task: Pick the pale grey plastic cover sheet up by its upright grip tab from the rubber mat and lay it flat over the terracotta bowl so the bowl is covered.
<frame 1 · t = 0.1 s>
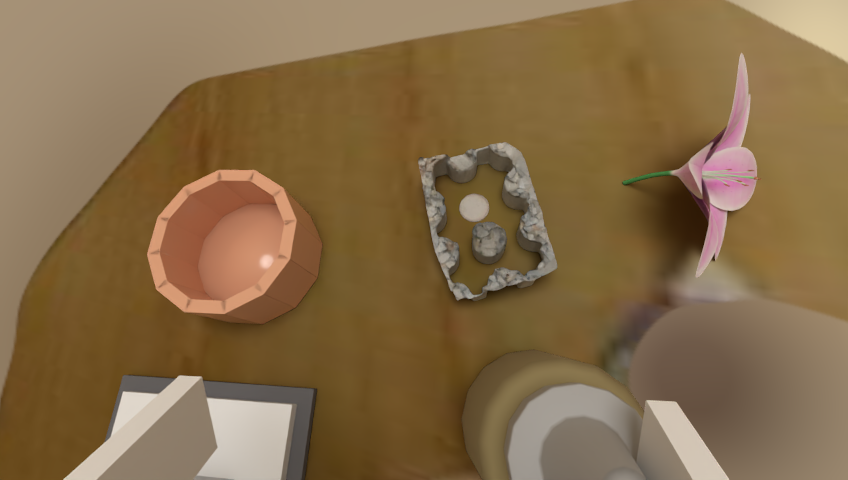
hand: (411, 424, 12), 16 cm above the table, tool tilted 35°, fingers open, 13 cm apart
squeeze bottle: (526, 418, 26), on the table, touching gripper
lily: (680, 207, 30), on the table
bowl: (258, 258, 31), on the table
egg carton: (483, 229, 31), on the table
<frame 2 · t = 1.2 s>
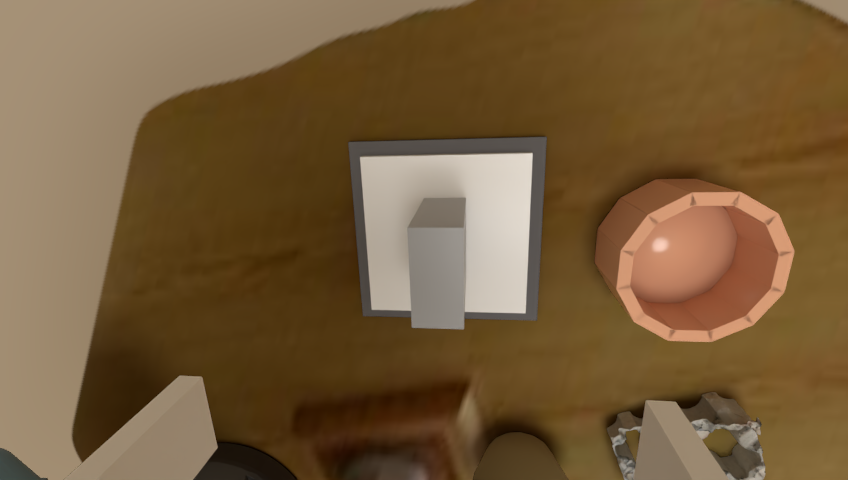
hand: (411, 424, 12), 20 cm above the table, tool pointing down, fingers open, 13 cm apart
squeeze bottle: (518, 455, 37), on the table
bowl: (665, 245, 30), on the table
rubber mat: (446, 232, 32), on the table
cover sheet: (446, 234, 31), point 1 cm above the table, touching rubber mat
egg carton: (672, 431, 35), on the table
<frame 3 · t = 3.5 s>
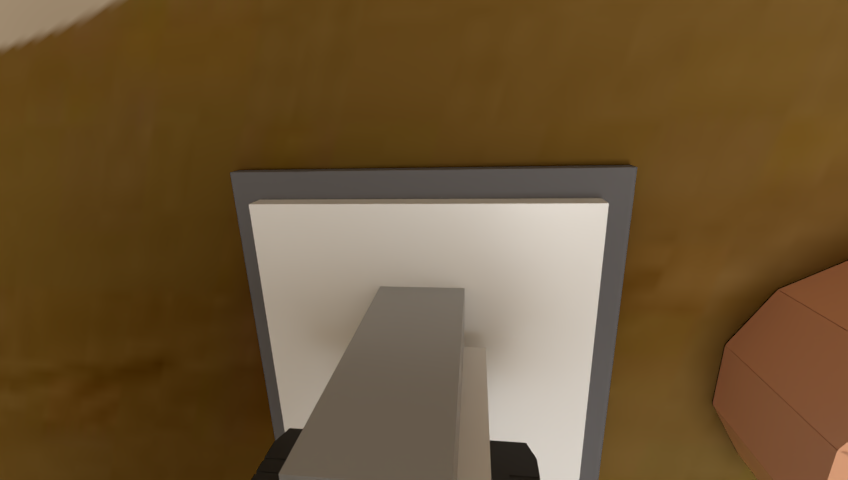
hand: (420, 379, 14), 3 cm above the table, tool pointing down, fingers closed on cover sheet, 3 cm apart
rubber mat: (428, 340, 17), on the table
cover sheet: (426, 349, 16), point 1 cm above the table, touching gripper, rubber mat
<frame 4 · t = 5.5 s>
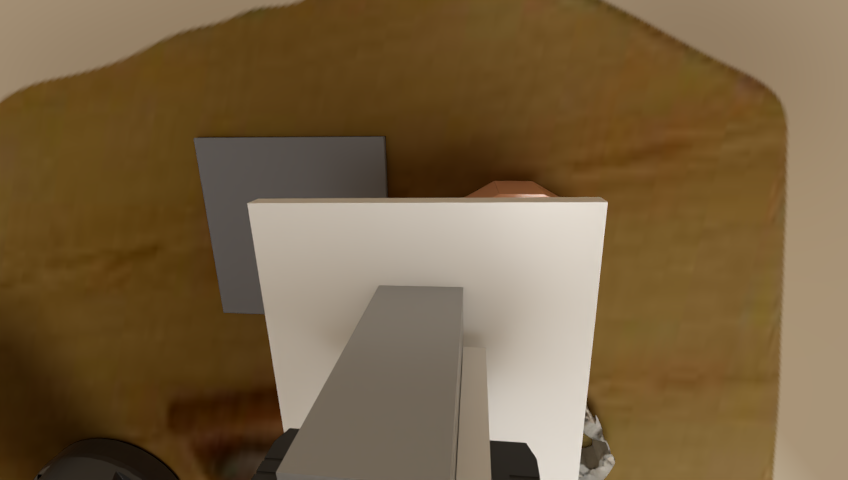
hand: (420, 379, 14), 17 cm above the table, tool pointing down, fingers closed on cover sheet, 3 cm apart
bowl: (509, 247, 30), on the table
rubber mat: (299, 230, 32), on the table
cover sheet: (425, 348, 16), point 15 cm above the table, touching gripper
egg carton: (533, 427, 35), on the table
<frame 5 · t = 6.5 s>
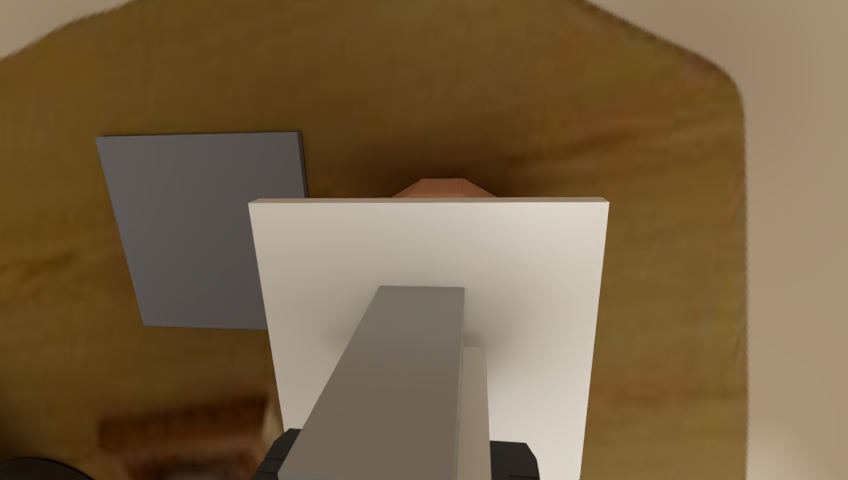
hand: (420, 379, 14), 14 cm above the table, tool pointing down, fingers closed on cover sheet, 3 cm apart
bowl: (443, 251, 27), on the table
rubber mat: (217, 236, 29), on the table
cover sheet: (426, 348, 16), point 12 cm above the table, touching gripper
when the fingers open (9 cm above the table, at t = 7.5 s): cover sheet drops 2 cm, resting on bowl.
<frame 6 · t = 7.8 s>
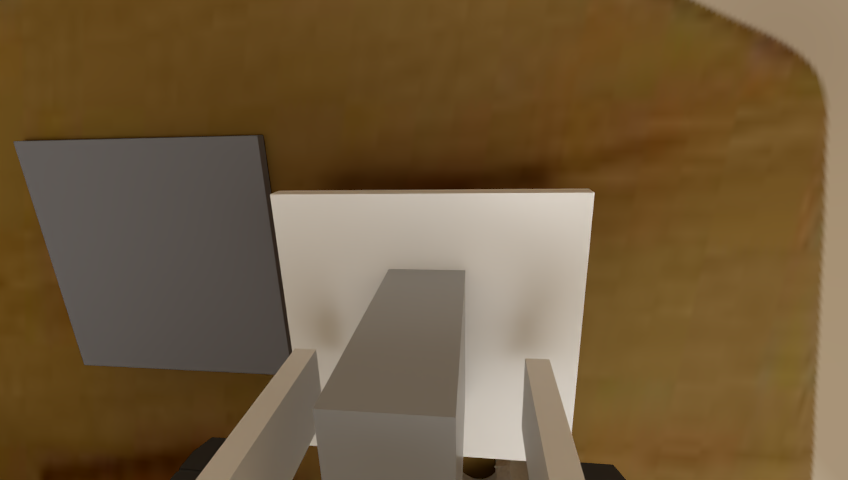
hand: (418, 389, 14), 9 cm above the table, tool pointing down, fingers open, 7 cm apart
rubber mat: (167, 260, 24), on the table
cover sheet: (430, 327, 18), point 5 cm above the table, touching bowl
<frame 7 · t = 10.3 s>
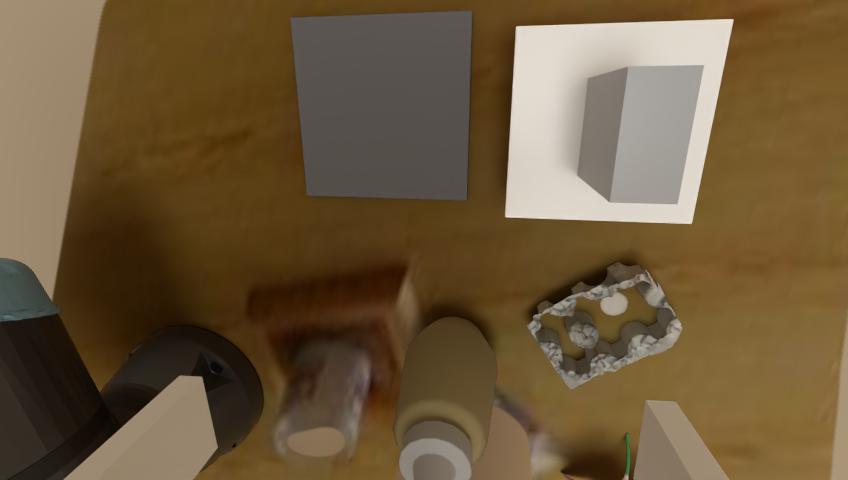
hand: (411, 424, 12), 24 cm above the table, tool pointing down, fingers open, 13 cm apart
squeeze bottle: (454, 341, 39), on the table
lily: (603, 461, 41), on the table
rubber mat: (383, 112, 34), on the table
cover sheet: (604, 128, 27), point 5 cm above the table, touching bowl
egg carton: (595, 312, 36), on the table
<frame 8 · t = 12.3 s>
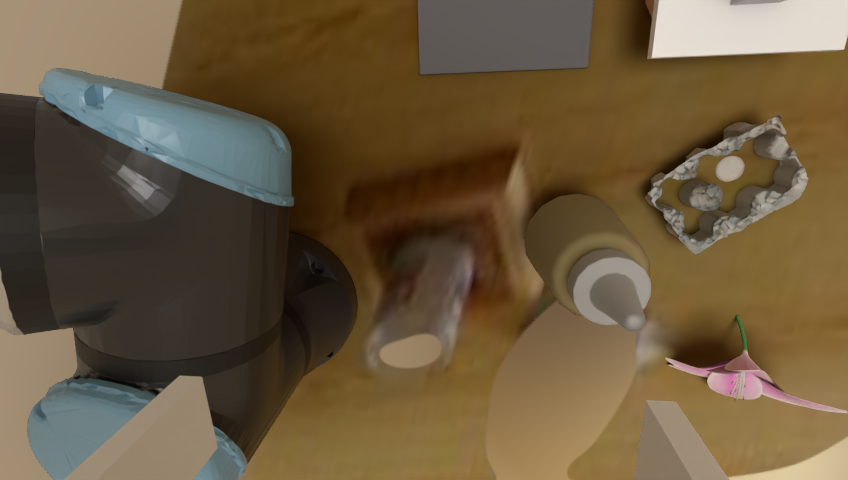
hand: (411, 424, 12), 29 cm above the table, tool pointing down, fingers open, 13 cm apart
squeeze bottle: (562, 227, 39), on the table
lily: (710, 349, 41), on the table
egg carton: (709, 181, 36), on the table
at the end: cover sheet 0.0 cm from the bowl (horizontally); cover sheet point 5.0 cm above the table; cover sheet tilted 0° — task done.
